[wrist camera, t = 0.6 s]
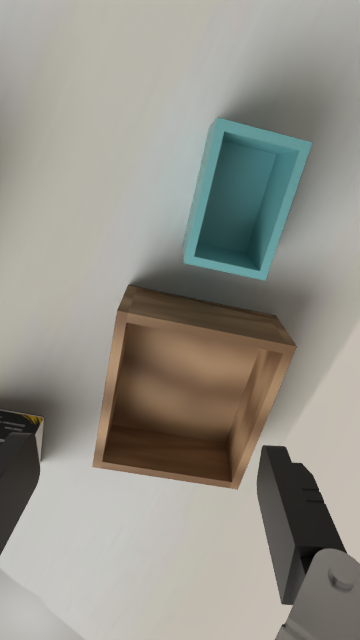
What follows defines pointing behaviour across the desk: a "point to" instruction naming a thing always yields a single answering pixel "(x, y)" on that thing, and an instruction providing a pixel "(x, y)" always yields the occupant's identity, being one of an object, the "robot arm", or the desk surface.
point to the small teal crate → (242, 198)
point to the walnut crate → (188, 387)
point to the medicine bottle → (21, 426)
